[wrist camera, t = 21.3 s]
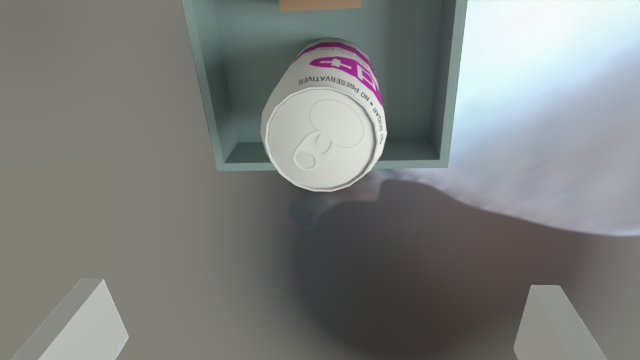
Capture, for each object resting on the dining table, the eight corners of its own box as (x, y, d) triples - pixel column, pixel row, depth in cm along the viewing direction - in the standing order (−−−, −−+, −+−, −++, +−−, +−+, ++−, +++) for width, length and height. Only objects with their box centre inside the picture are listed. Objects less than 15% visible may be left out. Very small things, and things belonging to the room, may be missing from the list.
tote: (183, -126, 30) (150, -144, 25) (465, -152, 28) (488, -178, 23) (233, 147, 42) (217, 171, 37) (436, 143, 39) (447, 167, 35)
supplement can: (325, 16, 34) (308, 45, 21) (393, 76, 36) (417, 136, 23) (273, 86, 37) (230, 149, 24) (338, 137, 39) (331, 220, 26)
